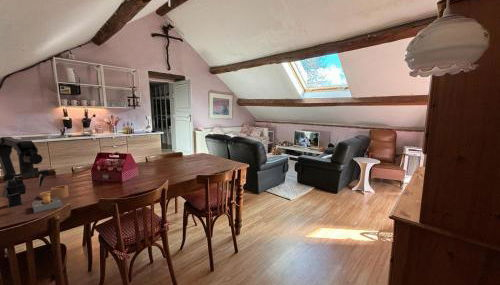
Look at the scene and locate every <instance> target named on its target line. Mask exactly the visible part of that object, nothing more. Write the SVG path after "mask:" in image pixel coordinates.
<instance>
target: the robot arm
mask: <svg viewBox="0 0 500 285" xmlns="http://www.w3.org/2000/svg"><path fill="white" fill-rule="evenodd" d="M12 149H13V150H15V151H16V155H17V157H18V158H17V159H18V167H19V168H18V169H19V173H16V170H15V167H14V165H13V161H12V158H11V155H12V152H13V150H12ZM38 149H39V148H38V147H37V146H36V145H35V143H34V142H33V141H32V140H30V139H29V140H21V139H17V138H15V137H12V136H1V137H0V167H1V169H2V172H3V175H2V178H3V182H5V183H4V185H3V191H2V193H1V196H2V198H4V199H7V208H13V207H17V206H22V205H24V202H23V200H22V195H25V194H26V190H27V189H26V184H24V180H23V179H27V178H34V177H35V176H39V179H38V186H39V187H38V188H41V186H42V184H43V181H44V179H45V178H46V177H48V176H49V175H51V173H50V170H49V169H48V168H44V169H39V167H34V165H39V164H41V163H42V162H43V157H42V155H41V154H39V150H38ZM19 178H22V179H19Z"/></svg>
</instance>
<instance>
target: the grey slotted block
mask: <svg viewBox="0 0 500 285" xmlns="http://www.w3.org/2000/svg"><path fill="white" fill-rule="evenodd" d="M62 207H63V203H62V199H60V198H59V197H55V198H51V199H50V203H45V204H43V199H42V200H34V201H32V209H33V213H34V214H37V213H40V212H44V211H49V210H50V211H51V210H53V209H57V208H58V209H59V208H62Z"/></svg>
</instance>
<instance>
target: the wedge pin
mask: <svg viewBox="0 0 500 285" xmlns="http://www.w3.org/2000/svg"><path fill="white" fill-rule="evenodd" d="M42 197H43V199H42V200H43V204H45V203H50V193H44V194H42Z"/></svg>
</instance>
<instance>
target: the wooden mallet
mask: <svg viewBox="0 0 500 285" xmlns="http://www.w3.org/2000/svg"><path fill="white" fill-rule="evenodd" d="M44 193H50V199H51V198H55V197H59V198H60V200H62V199H65V198H67V197H69V188H68V185H64V184H63V185H57V186H54V187H51V188H50V190H46V191H43V192H40V193H38V195H39V199H42V200H43V197H42V194H44Z"/></svg>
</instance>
